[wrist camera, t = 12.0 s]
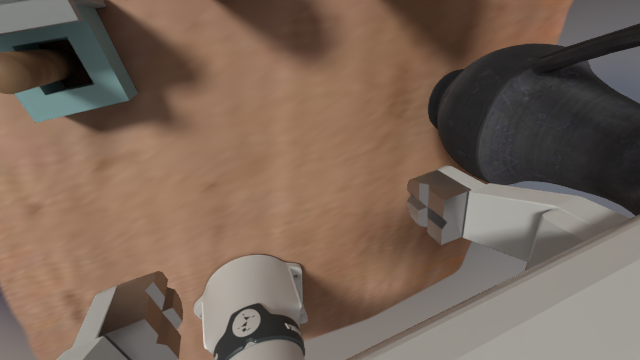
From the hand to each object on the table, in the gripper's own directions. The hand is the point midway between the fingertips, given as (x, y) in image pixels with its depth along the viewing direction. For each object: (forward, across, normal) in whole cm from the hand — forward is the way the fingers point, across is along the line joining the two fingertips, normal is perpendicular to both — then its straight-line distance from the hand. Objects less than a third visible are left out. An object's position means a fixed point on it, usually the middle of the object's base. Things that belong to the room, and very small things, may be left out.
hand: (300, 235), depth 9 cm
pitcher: (+29, -32, +8) cm, 44 cm away
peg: (+29, +15, -6) cm, 33 cm away
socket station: (+29, +14, -6) cm, 33 cm away
